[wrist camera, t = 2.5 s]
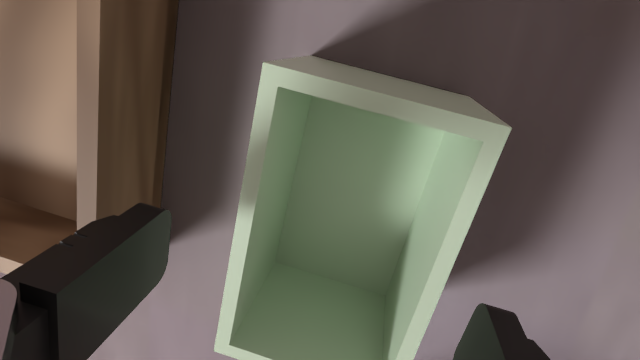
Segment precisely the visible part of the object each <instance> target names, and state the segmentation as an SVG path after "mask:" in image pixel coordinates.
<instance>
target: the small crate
mask: <svg viewBox="0 0 640 360" xmlns="http://www.w3.org/2000/svg"><path fill="white" fill-rule="evenodd" d="M511 129H512V127H510V126H509V125H508V124H506V123H505V122H503V121H502V120H501V119H499V118H498V117H497V116H495V115H494V114H492V113H491V112H490V111H488V110H487V109H486V108H484V107H483V106H481V105H480V104H479V103H477V102H476V101H475V100H473V99H472V98H470V97H469V96H465V95H462V94H458V93H454V92H450V91H446V90H442V89H438V88H435V87H431V86H427V85H423V84H419V83H415V82H411V81H407V80H404V79H400V78H396V77H392V76H388V75H384V74H380V73H376V72H373V71H369V70H365V69H361V68H357V67H353V66H349V65H346V64H342V63H338V62H334V61H330V60H326V59H322V58H318V57H315V56H311V55H310V56H303V57H296V58H289V59H282V60H275V61H268V62H263V66H262V71H261V77H260V83H259V89H258V95H257V101H256V107H255V112H254V118H253V124H252V130H251V136H250V142H249V148H248V153H247V159H246V165H245V171H244V177H243V183H242V189H241V194H240V200H239V206H238V212H237V218H236V224H235V230H234V235H233V241H232V247H231V253H230V259H229V265H228V271H227V276H226V282H225V288H224V294H223V300H222V306H221V312H220V317H219V323H218V329H217V335H216V341H215V347H214V351H215V352H218V353H221V354H224V355H227V356H230V357H233V358H235V359H238V360H413V359H414V357H415V354H416V352H417V350H418V347H419V345H420V343H421V340H422V338H423V336H424V333H425V331H426V329H427V326H428V324H429V321H430V319H431V317H432V314H433V312H434V310H435V307H436V305H437V303H438V300H439V298H440V296H441V293H442V291H443V289H444V286H445V284H446V282H447V279H448V277H449V274H450V272H451V270H452V267H453V265H454V263H455V260H456V258H457V256H458V253H459V251H460V249H461V246H462V244H463V242H464V239H465V237H466V235H467V232H468V230H469V227H470V225H471V223H472V220H473V218H474V216H475V213H476V211H477V209H478V206H479V204H480V202H481V199H482V197H483V195H484V192H485V190H486V188H487V185H488V183H489V181H490V178H491V176H492V173H493V171H494V169H495V166H496V164H497V162H498V159H499V157H500V155H501V152H502V150H503V148H504V145H505V143H506V141H507V138H508V136H509V134H510V131H511Z"/></svg>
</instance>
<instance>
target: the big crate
mask: <svg viewBox="0 0 640 360" xmlns="http://www.w3.org/2000/svg"><path fill="white" fill-rule="evenodd" d="M178 3H179V0H0V272H2V273H5V274H8V273H10V272H12V271H13V270H15V269H16V268H18V267H20V266H21V265H23V264H24V263H26V262H28V261H29V260H31V259H32V258H34V257H36V256H37V255H39V254H41V253H42V252H44V251H45V250H47V249H49V248H50V247H52V246H53V245H55V244H59V243H60V241H61V240H63V239H65V238H66V237H68V236H69V235H74V233H75V232H76V231H77V230H79V229H81V228H82V227H84V226H85V225H87V224H89V223H90V222H92V221H95V220H99V219H102V218H105V217H108V216H112V215H116V216H119V215H121V214H122V213H124V212H125V211H127V210H128V209H130V208H131V207H133V206H134V205H136V204H138V203H145V204H148V205H152V206H155V207H158V208H161V196H162V185H163V174H164V162H165V151H166V139H167V128H168V117H169V105H170V94H171V83H172V71H173V60H174V48H175V37H176V26H177V14H178Z"/></svg>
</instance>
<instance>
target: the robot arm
mask: <svg viewBox="0 0 640 360" xmlns="http://www.w3.org/2000/svg"><path fill="white" fill-rule="evenodd" d="M171 220H172V217H171V213H170V211H168V210H165V209H162V208H158V207H155V206H152V205H148V204H145V203H138V204H136V205H134V206H133V207H131V208H130V209H128V210H127V211H125V212H124V213H122V214H121V215H119V216H116V215H112V216H108V217H105V218H102V219H99V220H95V221H92V222H90V223H89V224H87V225H85V226H84V227H82V228H81V229H79V230H77V231H76V232H75V233H74V235H69V236H68V237H66V238H65V239H63V240H61V241H60V243H59V244H55V245H53V246H52V247H50V248H49V249H47V250H45V251H44V252H42V253H41V254H39V255H37V256H36V257H34V258H32V259H31V260H29V261H28V262H26V263H24V264H23V265H21V266H20V267H18V268H16V269H15V270H13V271H12V272H10V273H8V274H7V275H5V276H4V277H2V278H0V360H87V359H88V358H89V357H90V356H91V355H92V354H93V353H94V351H95V350H96V349H97V348H98V347H99V346H100V345H101V344H102V343H103V342H104V341H105V340H106V339H107V338H108V336H109V335H110V334H111V333H112V332H113V331H114V330H115V329H116V328H117V327H118V326H119V325H120V324H121V323H122V322H123V320H124V319H125V318H126V317H127V316H128V315H129V314H130V313H131V312H132V311H133V310H134V309H135V308H136V307H137V305H138V304H139V303H140V302H141V301H142V300H143V299H144V298H145V297H146V296H147V295H148V294H149V293H150V292H151V290H152V289H153V288H154V287H155V286H156V285H157V284H158V283H159V281H160V280H161V278H162V276H163V274H164V272H165V269H166V266H167V262H168V253H169V242H170V231H171ZM453 360H550V359H549V357H548V356H547V355H546V354H545V353H544V352H543V351H542V350H541V348H540V347H539V346H538V345H537V344H536V343H535V342H534V341H533V340H530V339H527V337H526V335H525V333H524V331H523V329H522V326H521V324H520V322H519V320H518V318H517V316H516V314H515V313H513V312H510V311H507V310H504V309H500V308H497V307H493V306H490V305H486V304H483V303H481V304H479V305H478V306H477V307H476V309H475V311H474V313H473V315H472V317H471V319H470V321H469V323H468V325H467V327H466V329H465V332H464V334H463V336H462V338H461V340H460V342H459V344H458V346H457V348H456V351H455V354H454V358H453Z"/></svg>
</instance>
